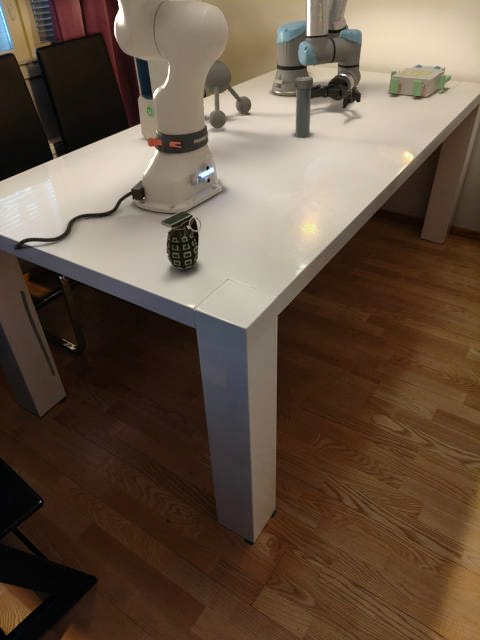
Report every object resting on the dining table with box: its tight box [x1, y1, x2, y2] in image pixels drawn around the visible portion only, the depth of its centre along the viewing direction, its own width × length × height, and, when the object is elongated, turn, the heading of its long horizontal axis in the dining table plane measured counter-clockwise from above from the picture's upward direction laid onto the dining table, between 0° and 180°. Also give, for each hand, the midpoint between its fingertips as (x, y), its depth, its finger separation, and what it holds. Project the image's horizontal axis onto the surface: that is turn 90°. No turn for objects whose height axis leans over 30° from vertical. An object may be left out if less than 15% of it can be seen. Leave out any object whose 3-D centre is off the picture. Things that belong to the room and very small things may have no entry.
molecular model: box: [203, 59, 252, 129], centre depth 157 cm, size 24×22×30 cm
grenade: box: [159, 211, 202, 271], centre depth 88 cm, size 7×6×10 cm
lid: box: [295, 76, 314, 89], centre depth 140 cm, size 5×5×2 cm
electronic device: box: [133, 57, 169, 140], centre depth 143 cm, size 12×8×30 cm, turn 47°
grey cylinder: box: [295, 88, 312, 138], centre depth 144 cm, size 4×4×15 cm
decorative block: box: [388, 64, 452, 98], centre depth 182 cm, size 26×6×20 cm
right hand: (322, 102), depth 154 cm, fingers open, 13 cm apart
